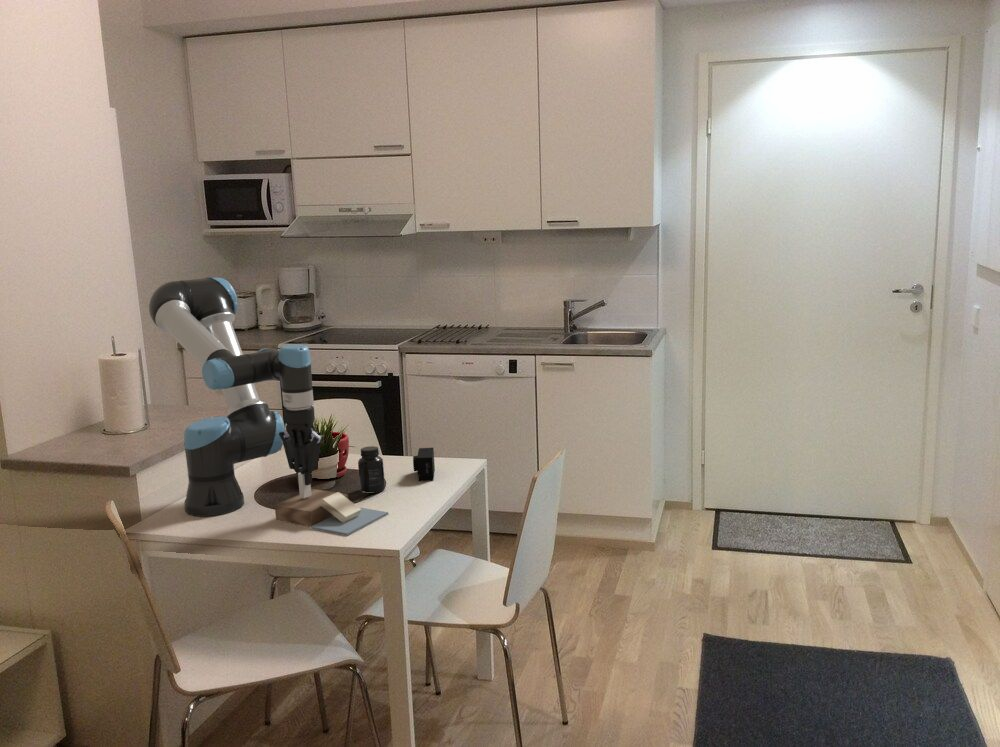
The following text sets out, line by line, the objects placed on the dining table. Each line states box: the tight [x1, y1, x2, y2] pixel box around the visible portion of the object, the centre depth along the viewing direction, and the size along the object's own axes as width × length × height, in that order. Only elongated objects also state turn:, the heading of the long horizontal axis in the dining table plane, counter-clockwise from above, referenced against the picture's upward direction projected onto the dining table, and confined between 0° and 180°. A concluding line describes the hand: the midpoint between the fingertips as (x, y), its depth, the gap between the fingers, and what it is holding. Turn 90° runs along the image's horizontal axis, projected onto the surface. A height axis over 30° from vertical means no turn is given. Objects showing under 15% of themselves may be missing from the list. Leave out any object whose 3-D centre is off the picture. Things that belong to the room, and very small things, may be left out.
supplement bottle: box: [357, 445, 386, 494], centre depth 245 cm, size 7×7×12 cm
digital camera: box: [412, 447, 436, 482], centre depth 257 cm, size 10×5×7 cm, turn 2°
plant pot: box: [331, 431, 350, 478], centre depth 261 cm, size 13×13×12 cm
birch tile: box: [321, 491, 361, 523], centre depth 223 cm, size 8×6×2 cm
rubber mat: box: [310, 506, 389, 537], centre depth 222 cm, size 12×16×1 cm
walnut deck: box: [274, 488, 349, 528], centre depth 228 cm, size 12×14×4 cm
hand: (305, 496), depth 229 cm, fingers closed
